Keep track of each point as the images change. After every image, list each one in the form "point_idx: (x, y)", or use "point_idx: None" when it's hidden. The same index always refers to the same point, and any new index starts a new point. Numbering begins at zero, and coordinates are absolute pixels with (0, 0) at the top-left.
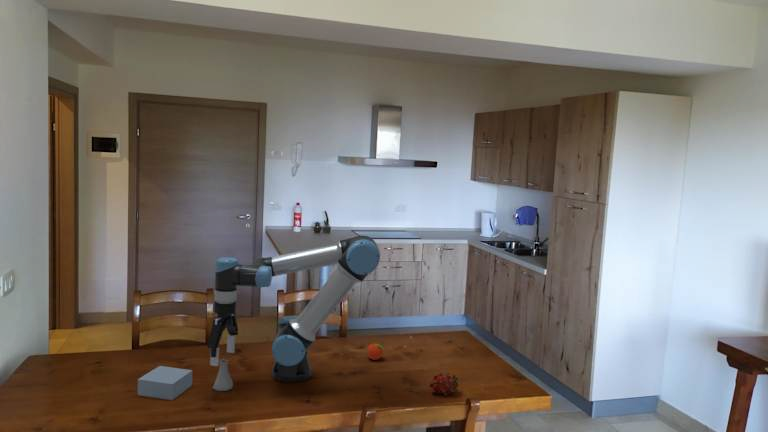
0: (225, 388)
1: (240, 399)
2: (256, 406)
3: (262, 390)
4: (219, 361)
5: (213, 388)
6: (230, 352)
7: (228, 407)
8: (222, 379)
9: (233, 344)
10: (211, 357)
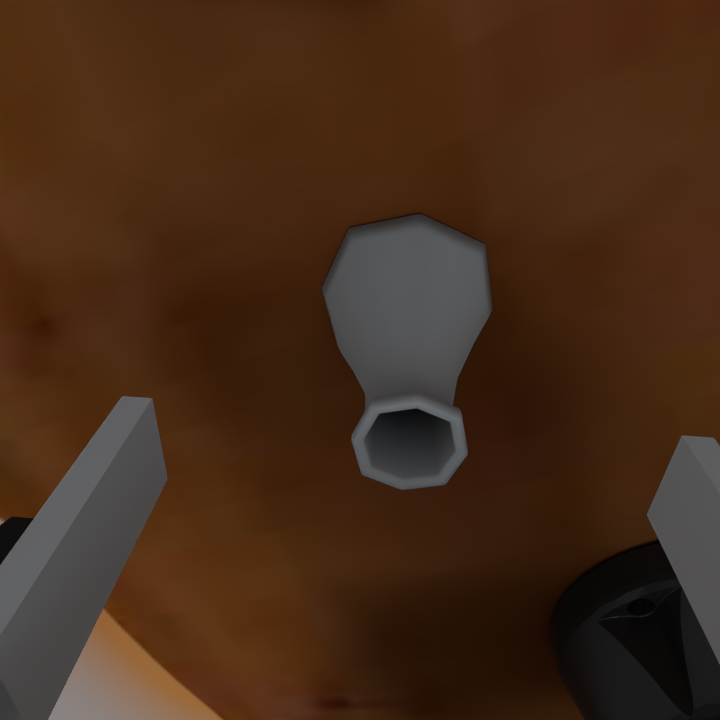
0: (339, 348)
1: (245, 460)
2: (192, 549)
3: (411, 534)
4: (380, 410)
5: (343, 242)
6: (664, 482)
7: None
8: (349, 353)
9: (706, 625)
10: (66, 492)
